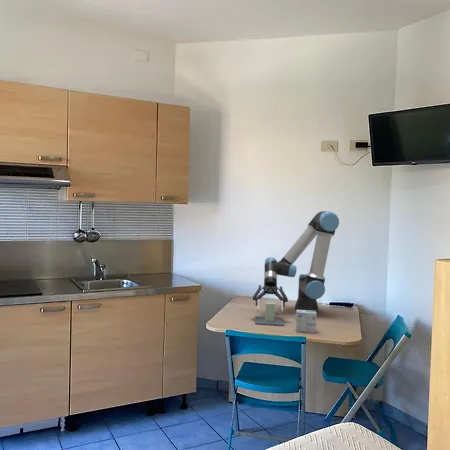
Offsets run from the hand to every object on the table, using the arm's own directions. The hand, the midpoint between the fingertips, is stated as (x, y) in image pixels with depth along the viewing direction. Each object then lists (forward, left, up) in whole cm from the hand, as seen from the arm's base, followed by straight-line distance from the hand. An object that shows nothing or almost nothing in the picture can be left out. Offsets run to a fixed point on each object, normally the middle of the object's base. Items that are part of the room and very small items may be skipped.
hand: (270, 310), depth 265 cm
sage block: (0, -2, -6) cm, 6 cm away
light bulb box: (-19, +13, -7) cm, 24 cm away
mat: (0, -2, -7) cm, 7 cm away
